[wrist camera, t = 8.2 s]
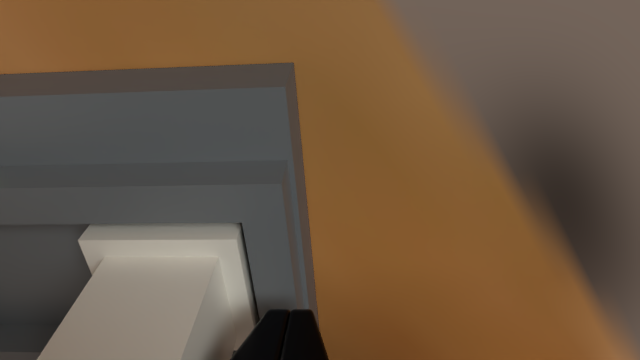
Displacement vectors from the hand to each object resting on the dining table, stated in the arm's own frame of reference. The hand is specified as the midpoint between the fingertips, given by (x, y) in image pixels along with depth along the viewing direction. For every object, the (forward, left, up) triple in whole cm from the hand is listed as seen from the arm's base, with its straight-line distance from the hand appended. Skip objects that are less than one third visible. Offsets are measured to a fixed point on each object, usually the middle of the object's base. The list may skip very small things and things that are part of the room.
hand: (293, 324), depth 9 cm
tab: (0, +2, -1) cm, 3 cm away
